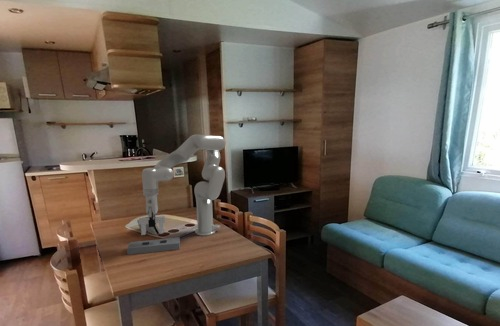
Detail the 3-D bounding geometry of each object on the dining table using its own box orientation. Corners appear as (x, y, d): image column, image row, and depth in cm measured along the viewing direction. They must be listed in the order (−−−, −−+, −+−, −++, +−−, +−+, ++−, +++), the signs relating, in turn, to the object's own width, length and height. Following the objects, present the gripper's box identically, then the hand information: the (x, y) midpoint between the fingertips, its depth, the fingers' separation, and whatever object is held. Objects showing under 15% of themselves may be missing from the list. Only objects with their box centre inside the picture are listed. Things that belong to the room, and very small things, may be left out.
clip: (165, 231, 150) (165, 216, 149) (165, 233, 147) (164, 218, 146) (140, 233, 147) (139, 218, 146) (139, 235, 144) (138, 219, 143)
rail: (179, 243, 155) (179, 237, 154) (179, 249, 147) (179, 243, 147) (130, 248, 149) (130, 242, 149) (127, 255, 142) (126, 248, 141)
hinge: (162, 232, 171) (156, 219, 167) (156, 237, 168) (150, 223, 164) (146, 226, 181) (141, 214, 177) (140, 231, 178) (134, 218, 174)
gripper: (156, 195, 137) (158, 230, 139) (159, 188, 153) (161, 220, 155) (140, 195, 135) (142, 231, 137) (145, 188, 151) (147, 221, 153)
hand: (152, 225), depth 146 cm, fingers closed on clip, 3 cm apart
